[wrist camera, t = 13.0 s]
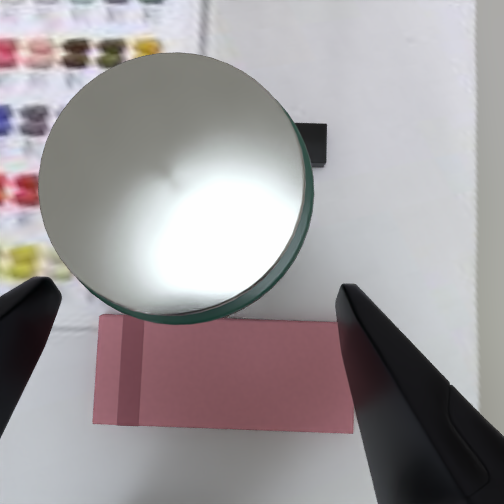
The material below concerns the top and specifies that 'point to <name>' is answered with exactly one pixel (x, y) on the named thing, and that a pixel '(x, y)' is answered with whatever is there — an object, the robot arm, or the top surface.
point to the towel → (222, 375)
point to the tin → (176, 188)
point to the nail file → (314, 141)
